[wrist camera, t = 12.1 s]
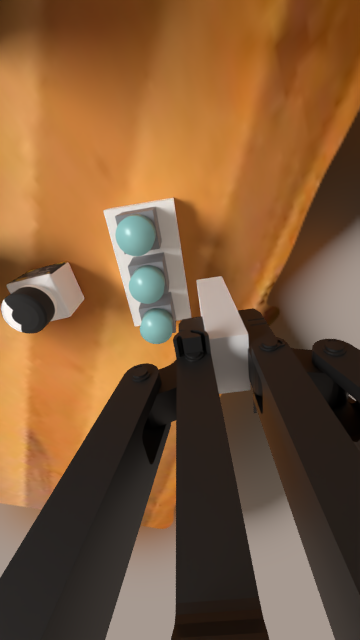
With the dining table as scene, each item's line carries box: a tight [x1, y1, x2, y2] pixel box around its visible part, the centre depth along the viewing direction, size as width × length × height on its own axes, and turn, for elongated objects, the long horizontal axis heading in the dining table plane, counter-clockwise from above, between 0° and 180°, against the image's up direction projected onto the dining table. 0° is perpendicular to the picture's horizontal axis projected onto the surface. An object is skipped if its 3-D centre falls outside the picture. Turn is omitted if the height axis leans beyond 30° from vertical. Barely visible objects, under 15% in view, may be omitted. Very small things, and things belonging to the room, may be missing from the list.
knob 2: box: [129, 265, 165, 304], centre depth 38 cm, size 5×5×8 cm
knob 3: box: [140, 308, 173, 344], centre depth 41 cm, size 5×5×8 cm
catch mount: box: [104, 197, 191, 333], centre depth 40 cm, size 10×19×8 cm, turn 9°
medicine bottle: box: [1, 262, 84, 333], centre depth 40 cm, size 7×7×12 cm
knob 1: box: [115, 214, 156, 256], centre depth 35 cm, size 5×5×8 cm
